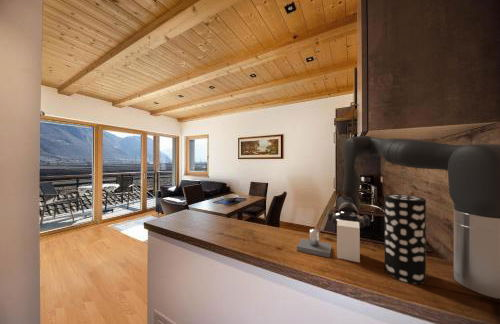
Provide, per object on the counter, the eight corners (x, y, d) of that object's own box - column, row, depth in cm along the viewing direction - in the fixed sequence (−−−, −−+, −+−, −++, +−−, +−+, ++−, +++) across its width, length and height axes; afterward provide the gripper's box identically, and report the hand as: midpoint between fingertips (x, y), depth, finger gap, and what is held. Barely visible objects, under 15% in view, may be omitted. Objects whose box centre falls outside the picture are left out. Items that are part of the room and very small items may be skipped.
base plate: (331, 248, 64) (331, 229, 64) (329, 257, 58) (329, 236, 58) (301, 242, 69) (301, 224, 69) (296, 250, 62) (296, 231, 62)
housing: (358, 253, 60) (358, 222, 60) (359, 262, 55) (359, 228, 55) (337, 249, 63) (337, 219, 63) (337, 257, 58) (336, 225, 58)
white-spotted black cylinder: (426, 288, 44) (426, 202, 44) (382, 274, 49) (382, 197, 49) (424, 272, 50) (425, 196, 50) (386, 261, 55) (386, 193, 55)
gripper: (330, 202, 87) (326, 210, 72) (366, 205, 80) (371, 215, 66) (330, 218, 87) (326, 230, 72) (366, 223, 80) (370, 237, 66)
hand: (347, 223), depth 69 cm, fingers open, 8 cm apart
